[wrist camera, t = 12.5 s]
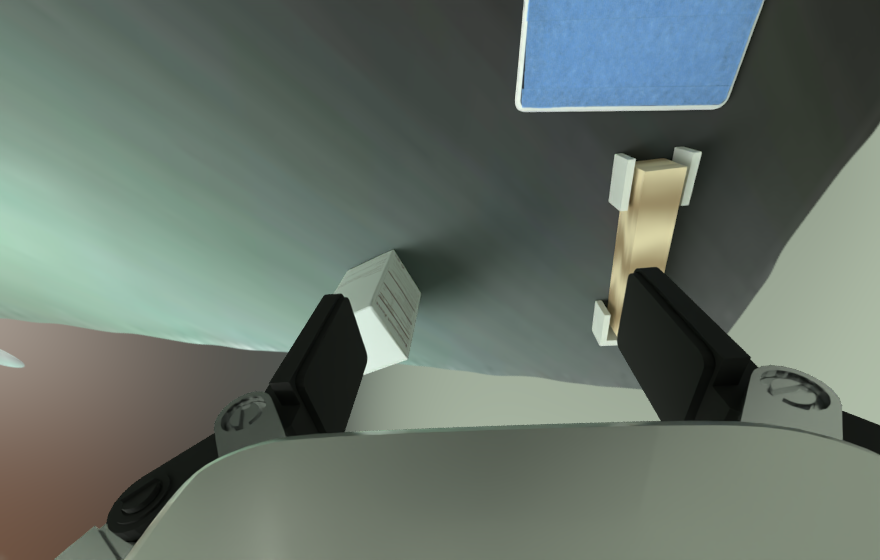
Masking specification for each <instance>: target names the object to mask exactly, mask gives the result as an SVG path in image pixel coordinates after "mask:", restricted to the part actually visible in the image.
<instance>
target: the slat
mask: <svg viewBox="0 0 880 560" xmlns="http://www.w3.org/2000/svg"><path fill="white" fill-rule="evenodd" d="M686 171H687V166H684V165H681V164H679V163H676V162H673V161H670V160H668V159H665V158H660V159H652V160H644V161H636V162H635V167H634V174H633V180H632V186H631V192H630V198H629V205H628V211H620V215H619V222H618V230H617V238H616V245H615V253H614V260H613V268H612V276H611V283H610V291H609V299H608V306H607V310H608V312H609V313H610V315H611V316H610V323H609V325H610V326H611V328H612V330H613V331H614V333H615V335H616V336H617V334H618V329H619V323H620V318H621V312H622V307H623V301H624V296H625V290H626V285H627V279H628V276H629V274H630V273H634V271H635V269H637V268H647V267H658V268H659V269H660V270H661V271H662V272H663V273H664V272H665V267H666V262H667V258H668V253H669V249H670V244H671V240H672V235H673V230H674V226H675V221H676V217H677V212H678V207H679V203H680V198H681V194H682V189H683V185H684V180H685V175H686Z"/></svg>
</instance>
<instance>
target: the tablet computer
mask: <svg viewBox="0 0 880 560" xmlns="http://www.w3.org/2000/svg"><path fill="white" fill-rule="evenodd" d="M764 1H765V0H524V8H523V18H522V30H521V41H520V53H519V64H518V75H517V85H516V96H515V104H516V107H517V109H518V110H520V111H522V112H567V111H656V110H713V109H717V108H719V107H721V106H723V105H724V104H725V103H726V102H727V100H728V98H729V96H730V93H731V91H732V88H733V85H734V82H735V80H736V77H737V74H738V71H739V69H740V66H741V63H742V61H743V58H744V55H745V52H746V50H747V47H748V44H749V42H750V39H751V36H752V33H753V30H754V28H755V25H756V22H757V20H758V17H759V14H760V12H761V9H762V6H763V3H764Z"/></svg>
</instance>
